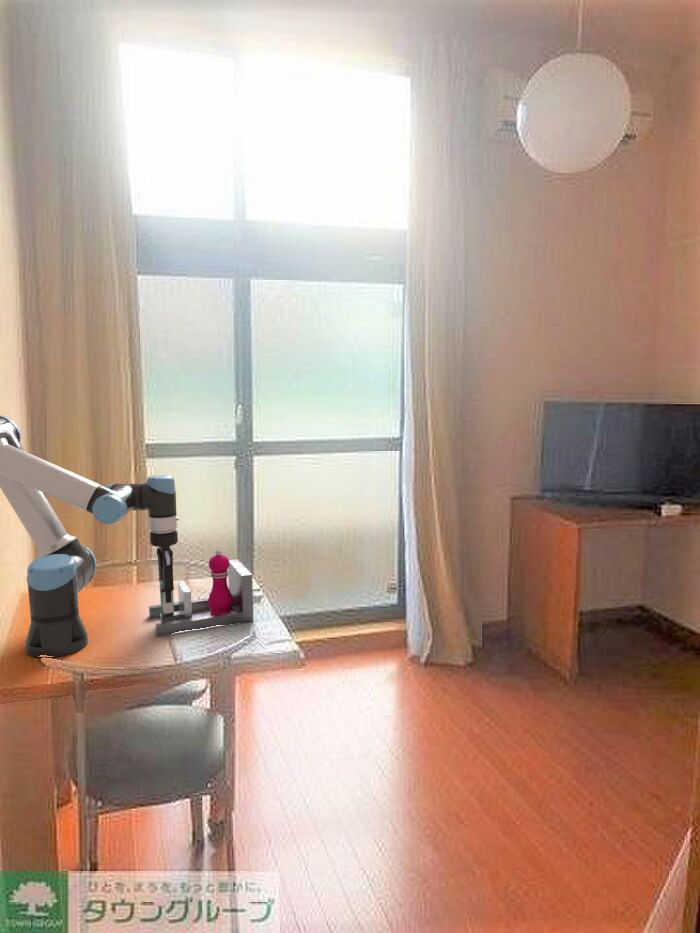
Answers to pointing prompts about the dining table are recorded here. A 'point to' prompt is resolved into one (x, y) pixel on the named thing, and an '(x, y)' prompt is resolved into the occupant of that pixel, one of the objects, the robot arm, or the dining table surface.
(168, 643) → the dining table surface
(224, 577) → the pepper mill
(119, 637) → the dining table surface
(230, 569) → the frame
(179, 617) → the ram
